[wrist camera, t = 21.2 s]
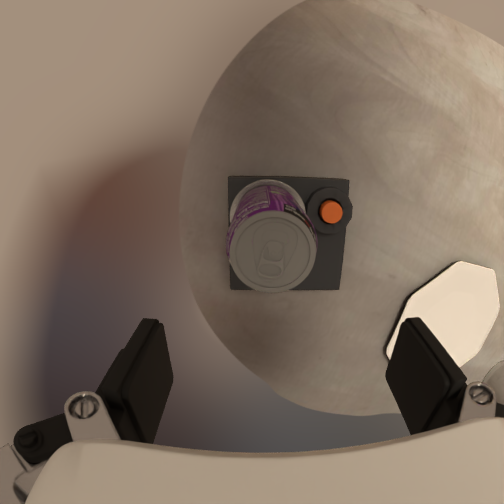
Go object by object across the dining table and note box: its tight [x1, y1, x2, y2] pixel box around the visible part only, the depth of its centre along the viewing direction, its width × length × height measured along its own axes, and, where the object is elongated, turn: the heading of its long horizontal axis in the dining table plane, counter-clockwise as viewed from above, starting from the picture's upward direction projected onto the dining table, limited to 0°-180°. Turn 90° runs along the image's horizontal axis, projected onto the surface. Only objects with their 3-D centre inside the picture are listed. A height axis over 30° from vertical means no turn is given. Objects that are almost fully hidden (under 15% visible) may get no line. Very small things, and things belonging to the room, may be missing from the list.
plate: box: [386, 261, 500, 367], centre depth 40 cm, size 24×24×2 cm
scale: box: [228, 176, 353, 290], centre depth 35 cm, size 14×14×3 cm
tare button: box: [319, 200, 342, 224], centre depth 32 cm, size 2×2×1 cm
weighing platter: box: [230, 179, 306, 224], centre depth 32 cm, size 8×8×1 cm
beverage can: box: [226, 186, 317, 293], centre depth 26 cm, size 7×7×12 cm
